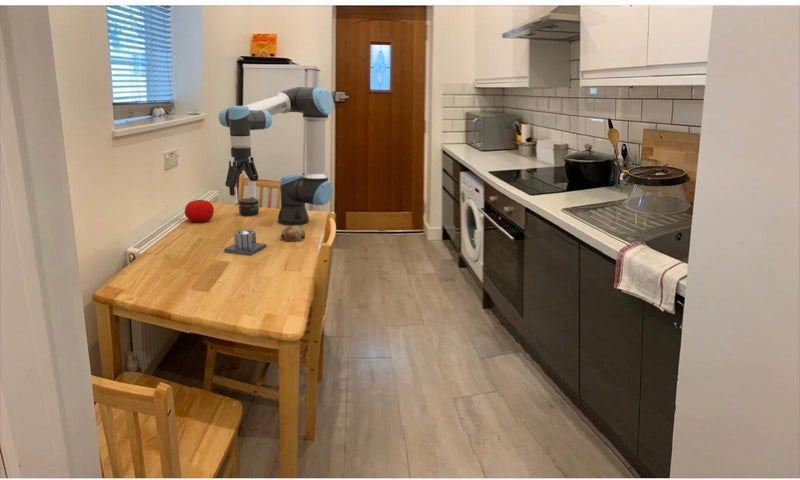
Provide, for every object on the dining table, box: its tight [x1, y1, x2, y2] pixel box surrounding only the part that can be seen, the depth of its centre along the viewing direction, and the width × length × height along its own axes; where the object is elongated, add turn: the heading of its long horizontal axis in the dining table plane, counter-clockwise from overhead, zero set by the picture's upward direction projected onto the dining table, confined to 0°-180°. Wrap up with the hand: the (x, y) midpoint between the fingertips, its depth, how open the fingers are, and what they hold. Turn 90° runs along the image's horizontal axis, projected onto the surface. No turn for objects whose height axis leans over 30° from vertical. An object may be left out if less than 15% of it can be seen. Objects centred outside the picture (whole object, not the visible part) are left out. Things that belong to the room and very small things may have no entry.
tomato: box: [184, 199, 215, 223], centre depth 265 cm, size 14×13×10 cm
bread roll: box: [280, 225, 306, 243], centre depth 240 cm, size 10×10×8 cm
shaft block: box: [223, 229, 267, 256], centre depth 222 cm, size 12×12×8 cm
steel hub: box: [233, 228, 257, 249], centre depth 222 cm, size 8×8×6 cm
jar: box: [238, 197, 260, 217], centre depth 281 cm, size 10×10×8 cm
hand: (243, 200), depth 218 cm, fingers open, 13 cm apart
